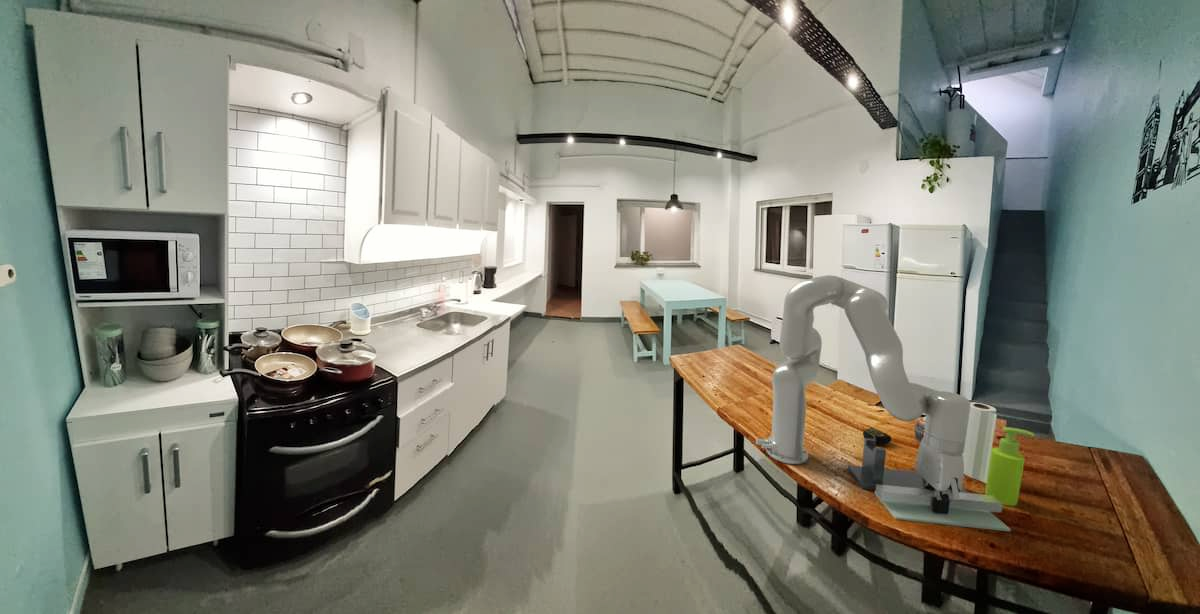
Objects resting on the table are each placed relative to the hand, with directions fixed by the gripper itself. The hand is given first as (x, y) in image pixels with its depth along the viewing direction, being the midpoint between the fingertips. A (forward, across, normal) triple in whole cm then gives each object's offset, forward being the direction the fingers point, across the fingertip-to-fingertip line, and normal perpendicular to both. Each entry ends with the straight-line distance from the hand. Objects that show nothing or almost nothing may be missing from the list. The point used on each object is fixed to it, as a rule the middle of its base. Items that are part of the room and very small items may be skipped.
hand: (934, 506), depth 94 cm
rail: (-1, 0, 0) cm, 1 cm away
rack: (+1, -11, -1) cm, 11 cm away
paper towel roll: (+1, -19, +21) cm, 28 cm away
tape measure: (+1, -36, +3) cm, 36 cm away
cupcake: (+1, -37, +21) cm, 42 cm away
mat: (+1, 0, +1) cm, 1 cm away
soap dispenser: (+1, -8, +21) cm, 22 cm away
